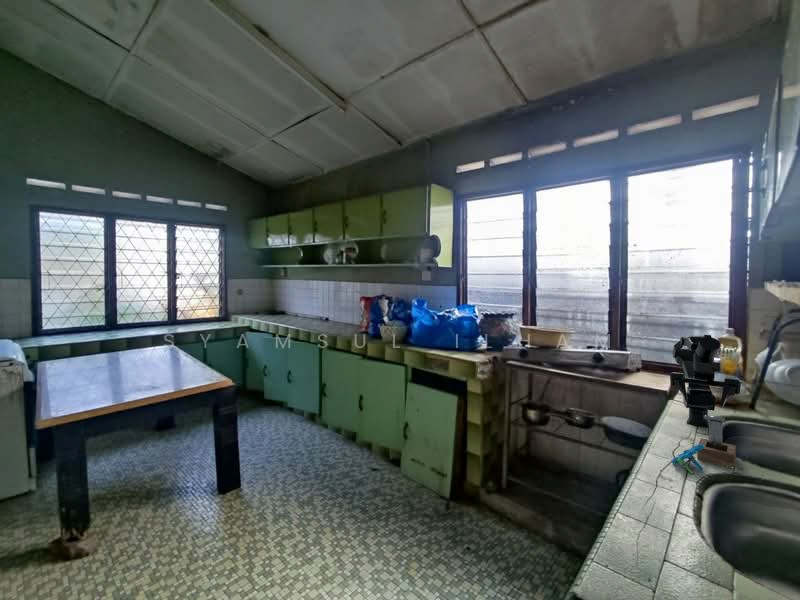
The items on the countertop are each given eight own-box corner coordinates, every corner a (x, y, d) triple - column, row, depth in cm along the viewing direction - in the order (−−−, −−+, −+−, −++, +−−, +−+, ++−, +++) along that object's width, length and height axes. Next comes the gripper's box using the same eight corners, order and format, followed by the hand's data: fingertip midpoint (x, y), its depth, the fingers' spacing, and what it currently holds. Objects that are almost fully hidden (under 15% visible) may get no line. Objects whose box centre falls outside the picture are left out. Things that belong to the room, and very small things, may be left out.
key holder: (700, 449, 119) (700, 437, 118) (735, 458, 113) (735, 445, 112) (697, 459, 113) (697, 446, 112) (733, 468, 107) (734, 455, 106)
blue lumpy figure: (679, 450, 115) (705, 438, 108) (696, 468, 112) (724, 456, 105) (662, 464, 110) (687, 452, 103) (678, 483, 107) (706, 472, 100)
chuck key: (703, 453, 116) (703, 413, 115) (725, 458, 113) (725, 416, 112) (703, 457, 114) (703, 416, 113) (725, 462, 110) (725, 419, 110)
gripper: (670, 350, 131) (668, 387, 124) (740, 355, 119) (743, 397, 112) (671, 367, 138) (669, 403, 130) (738, 373, 126) (740, 414, 118)
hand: (703, 404), depth 122 cm, fingers open, 9 cm apart
